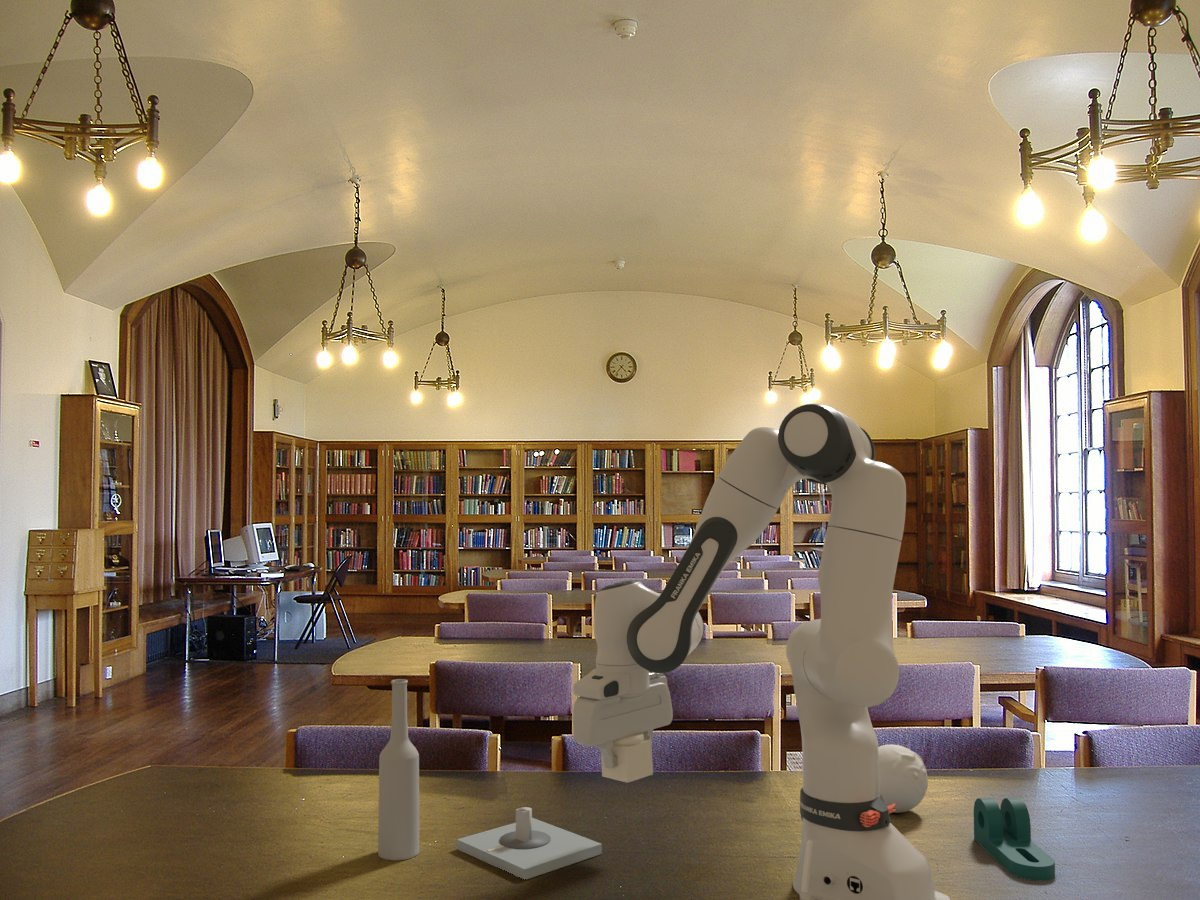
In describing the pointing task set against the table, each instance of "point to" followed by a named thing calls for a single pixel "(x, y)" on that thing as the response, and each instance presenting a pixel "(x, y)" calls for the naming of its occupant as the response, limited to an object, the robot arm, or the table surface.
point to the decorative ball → (901, 777)
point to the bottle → (398, 786)
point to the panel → (529, 846)
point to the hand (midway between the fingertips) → (627, 762)
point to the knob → (630, 759)
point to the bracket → (1011, 838)
